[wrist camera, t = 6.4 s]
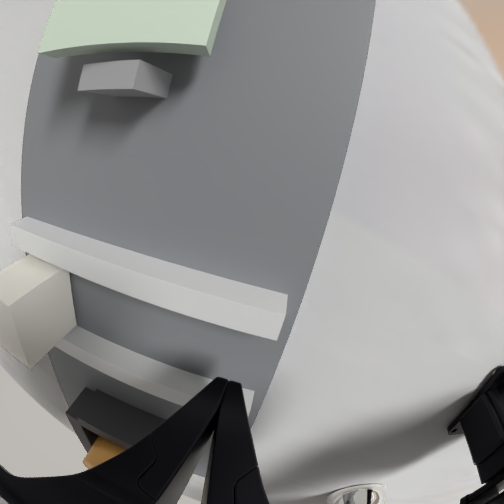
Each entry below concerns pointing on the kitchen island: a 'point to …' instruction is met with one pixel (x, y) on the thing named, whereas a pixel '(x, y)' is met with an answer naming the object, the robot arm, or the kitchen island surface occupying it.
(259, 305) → the panel
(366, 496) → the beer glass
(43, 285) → the cream rectangular brick
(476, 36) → the kitchen island surface
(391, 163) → the kitchen island surface
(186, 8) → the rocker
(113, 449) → the button
